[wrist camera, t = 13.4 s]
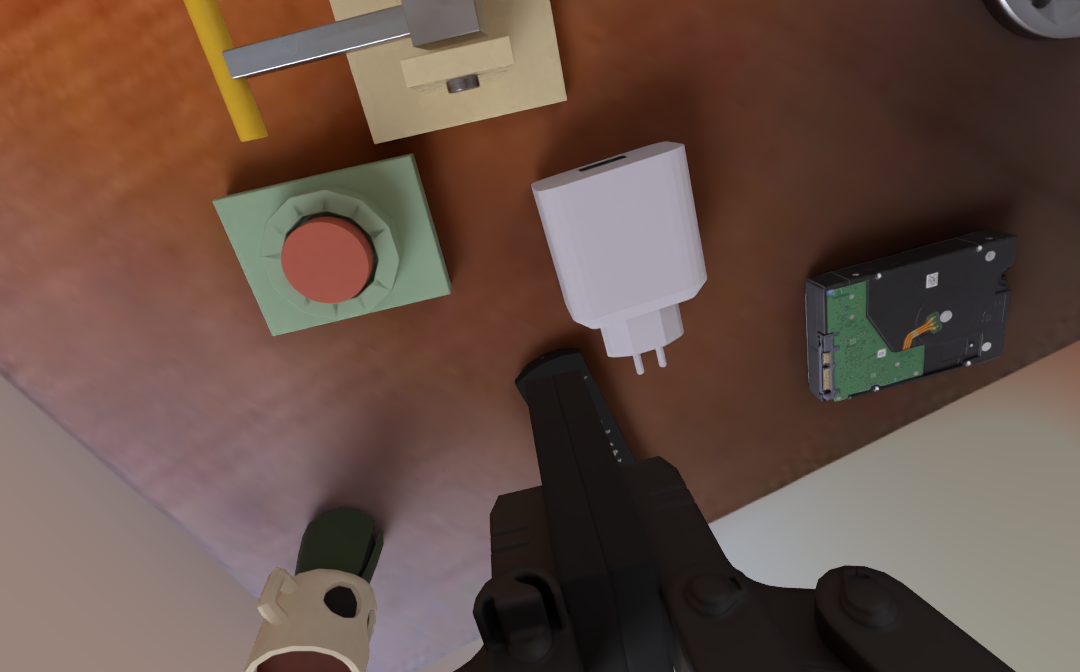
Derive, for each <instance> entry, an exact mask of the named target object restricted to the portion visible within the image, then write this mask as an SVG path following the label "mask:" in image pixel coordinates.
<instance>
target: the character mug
mask: <svg viewBox="0 0 1080 672" xmlns="http://www.w3.org/2000/svg"><path fill="white" fill-rule="evenodd" d="M374 523H375V520H374V519H373V517H371V516H369V515H367V514H365V513H363V512H361V511H359V510H351V509H341V508H340V509H337V510H334V511H331V512H328V513H325V514H322V515H321V516H319V517H318V518H316V519H315V520H314V521H312V522H311V523H310V524H308V526H307V528H306V531H305V533H304V535H303V537H302V541H301V546H300V550H299V554H298V559H297V565H296V571H295V576H294V577H292V576H291V575H290V574H289V573H288V572H287V571H286V570H285V569H283V568H279V567H276V568H275V569H274V571H273V572H272V573H271V574H270V575H269V577H268V579H267V581H266V584H265V586H264V589H263V591H262V593H261V596H260V598H259V600H258V610H259V612H260V613H261V615H262V616H263V617H264V620H263V623H262V625H261V628H260V630H259V633H258V635H257V638H256V640H255V643H254V645H253V648H252V650H251V653H250V656H249V658H248V660H247V663H246V665H245V668H244V671H243V672H365V671H366V667H367V664H368V660H369V642H370V639H371V636H372V633H373V630H374V626H375V622H376V607H377V606H376V600H375V596H374V592H373V589H372V588H371V586H370V581H371V579H372V576H373V573H374V571H375V568H376V566H377V563H378V560H379V557H380V554H381V550H382V547H383V544H384V543H383V531H382V529H380V532H379V535H378V538H377V541H376V542H375V538H374V535H373V533H372V530H373V527H374Z"/></svg>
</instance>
